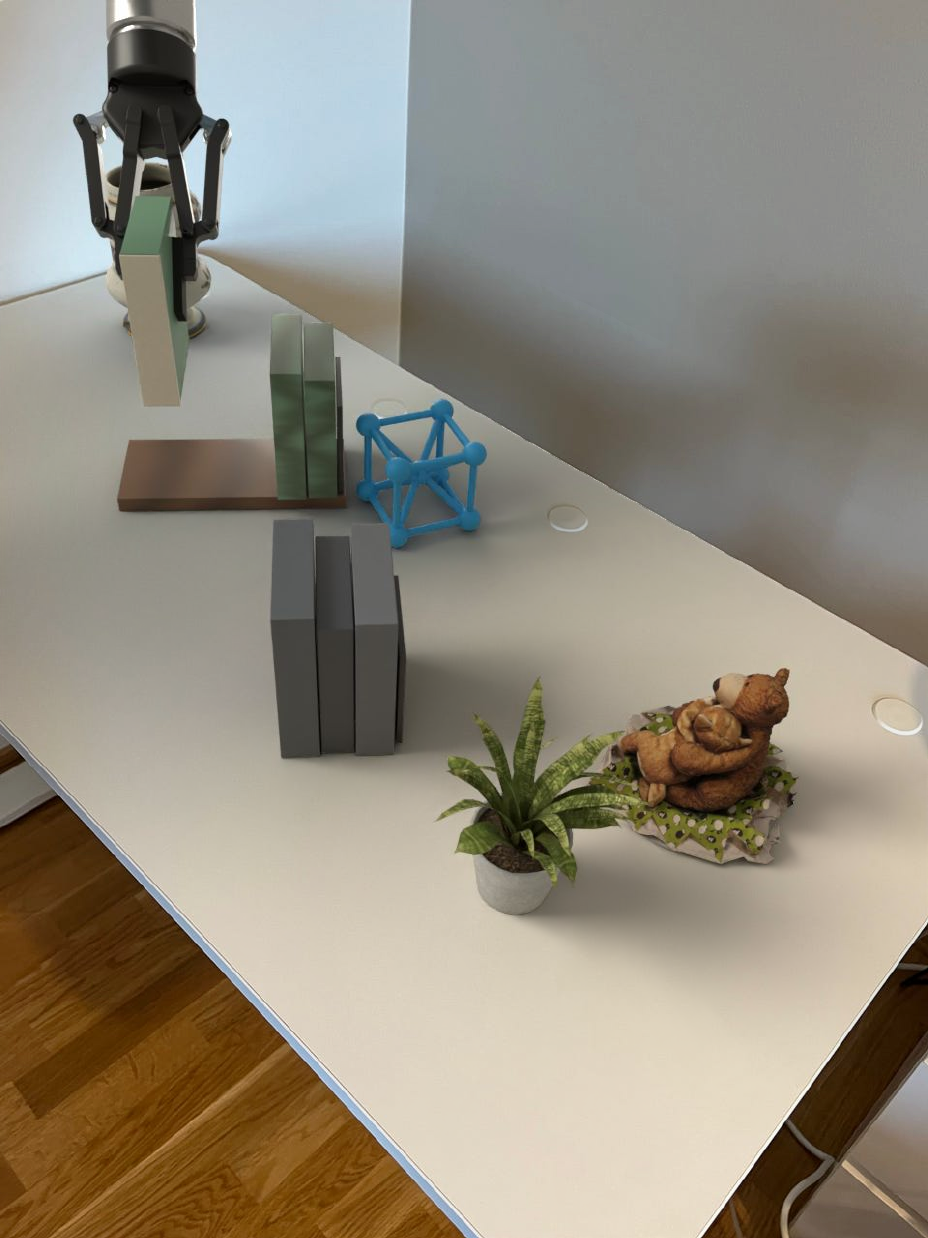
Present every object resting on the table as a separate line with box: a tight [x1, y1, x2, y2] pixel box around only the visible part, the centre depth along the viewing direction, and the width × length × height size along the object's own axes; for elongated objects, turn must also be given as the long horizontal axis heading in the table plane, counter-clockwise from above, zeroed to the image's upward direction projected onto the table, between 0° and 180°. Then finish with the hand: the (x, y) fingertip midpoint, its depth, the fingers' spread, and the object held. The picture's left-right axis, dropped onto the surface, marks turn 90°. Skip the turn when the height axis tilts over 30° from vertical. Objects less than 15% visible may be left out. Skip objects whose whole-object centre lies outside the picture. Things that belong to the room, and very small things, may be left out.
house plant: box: [433, 676, 653, 916], centre depth 70 cm, size 14×14×16 cm
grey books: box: [269, 518, 407, 759], centre depth 83 cm, size 10×11×15 cm
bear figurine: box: [587, 667, 800, 865], centre depth 80 cm, size 14×15×12 cm
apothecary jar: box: [105, 161, 212, 339], centre depth 124 cm, size 12×12×18 cm
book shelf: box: [116, 313, 348, 512], centre depth 103 cm, size 22×11×16 cm, turn 96°
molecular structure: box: [355, 398, 488, 549], centre depth 103 cm, size 10×10×10 cm
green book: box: [119, 196, 190, 408], centre depth 93 cm, size 3×11×14 cm, turn 6°
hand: (158, 316), depth 93 cm, fingers closed on green book, 3 cm apart
